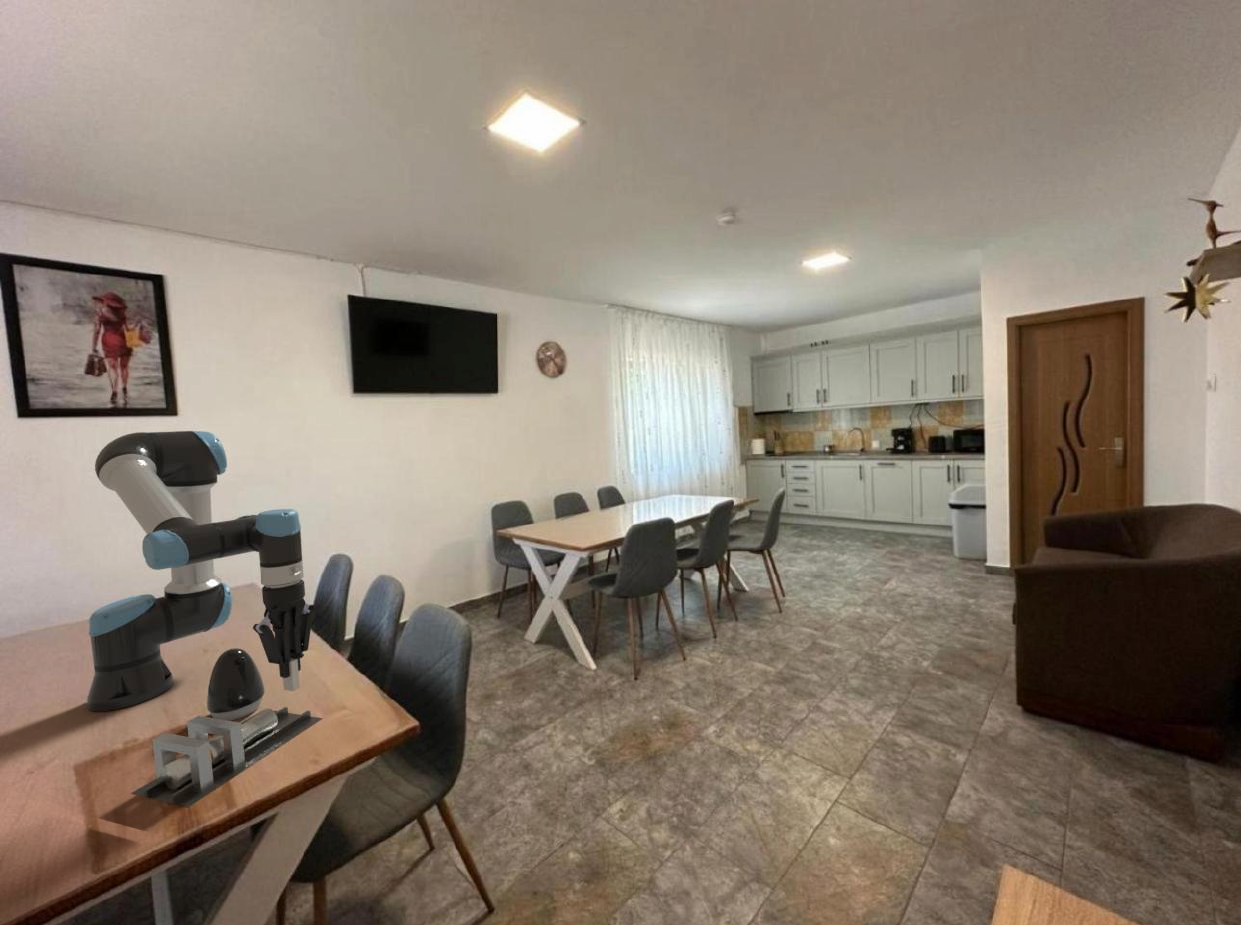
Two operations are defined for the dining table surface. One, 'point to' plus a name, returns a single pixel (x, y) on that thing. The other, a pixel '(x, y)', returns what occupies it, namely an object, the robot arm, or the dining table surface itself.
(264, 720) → the tube
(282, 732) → the twin arch cradle
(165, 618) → the robot arm
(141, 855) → the dining table surface
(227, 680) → the black tall rounded dome
